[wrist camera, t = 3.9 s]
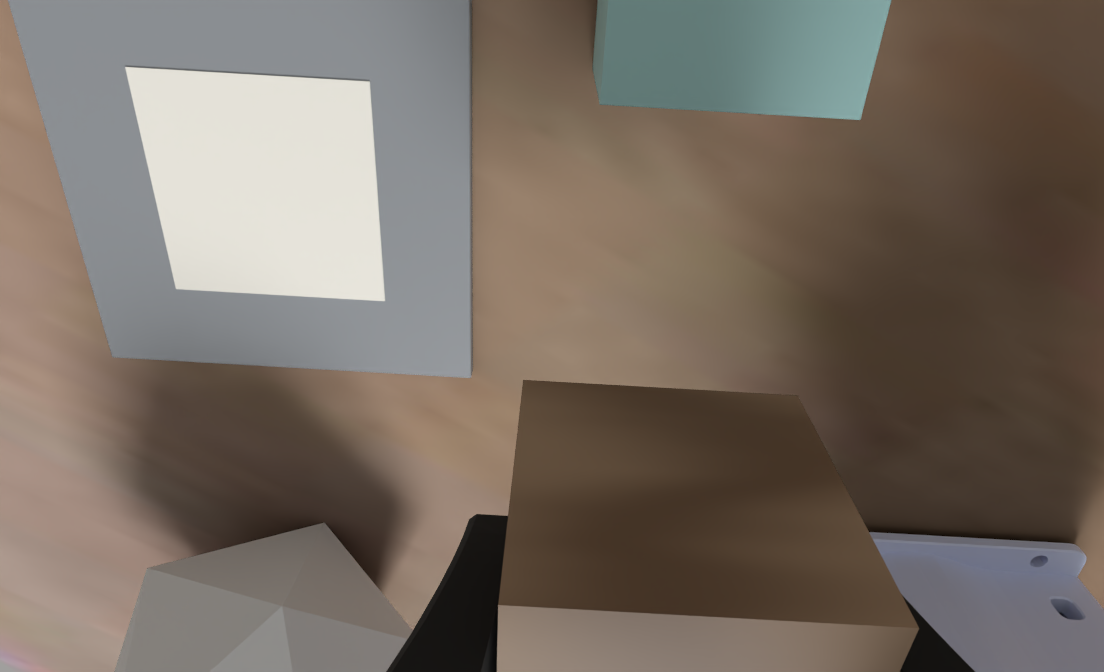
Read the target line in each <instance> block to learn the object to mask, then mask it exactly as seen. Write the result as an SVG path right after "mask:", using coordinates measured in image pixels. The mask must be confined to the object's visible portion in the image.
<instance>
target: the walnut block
mask: <svg viewBox="0 0 1104 672" xmlns="http://www.w3.org/2000/svg"><path fill="white" fill-rule="evenodd" d="M918 630H919V627H918V625H917V623H916V621H915V619H914V617H913V615H912V614H911V612H910V610H909V608H908V606H907V604H906V602H905V600H904V598H903V596H902V594H901V593H900V591H899V589H898V587H897V585H896V583H895V581H894V579H893V577H892V575H891V573H890V571H889V570H888V568H887V566H886V564H885V562H884V560H883V558H882V556H881V554H880V552H879V550H878V548H877V547H876V545H875V543H874V541H873V539H872V537H871V535H870V533H869V531H868V529H867V527H866V526H865V524H864V522H863V520H862V518H861V516H860V514H859V512H858V510H857V508H856V506H855V504H854V503H853V501H852V499H851V497H850V495H849V493H848V491H847V489H846V487H845V485H844V483H843V481H842V480H841V478H840V476H839V474H838V472H837V470H836V468H835V466H834V464H833V462H832V460H831V459H830V457H829V455H828V453H827V451H826V449H825V447H824V445H823V443H822V441H821V439H820V437H819V436H818V434H817V432H816V430H815V428H814V426H813V424H812V422H811V420H810V418H809V416H808V414H807V413H806V411H805V409H804V407H803V405H802V403H801V401H800V399H799V397H798V396H796V395H779V394H761V393H744V392H726V391H708V390H691V389H673V388H656V387H638V386H620V385H603V384H585V383H568V382H550V381H532V380H523V387H522V396H521V405H520V414H519V423H518V432H517V441H516V450H515V459H514V468H513V477H512V486H511V495H510V504H509V513H508V522H507V531H506V540H505V549H504V558H503V567H502V576H501V585H500V594H499V603H498V638H497V672H900V670H901V668H902V665H903V663H904V661H905V659H906V656H907V654H908V652H909V650H910V648H911V645H912V643H913V641H914V639H915V637H916V634H917V632H918Z"/></svg>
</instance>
